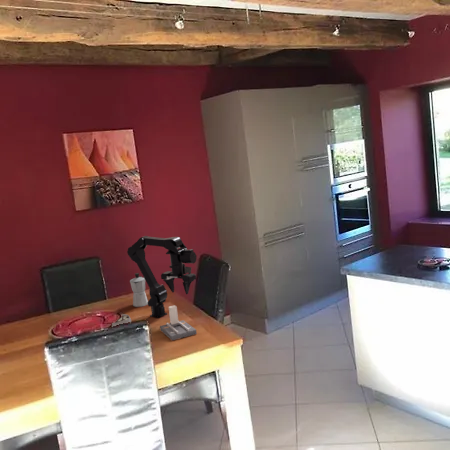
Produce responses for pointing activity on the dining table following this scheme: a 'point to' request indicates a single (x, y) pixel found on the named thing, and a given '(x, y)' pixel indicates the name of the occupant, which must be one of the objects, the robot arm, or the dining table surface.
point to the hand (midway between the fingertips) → (180, 293)
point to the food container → (122, 320)
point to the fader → (173, 316)
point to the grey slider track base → (178, 330)
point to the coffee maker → (138, 291)
